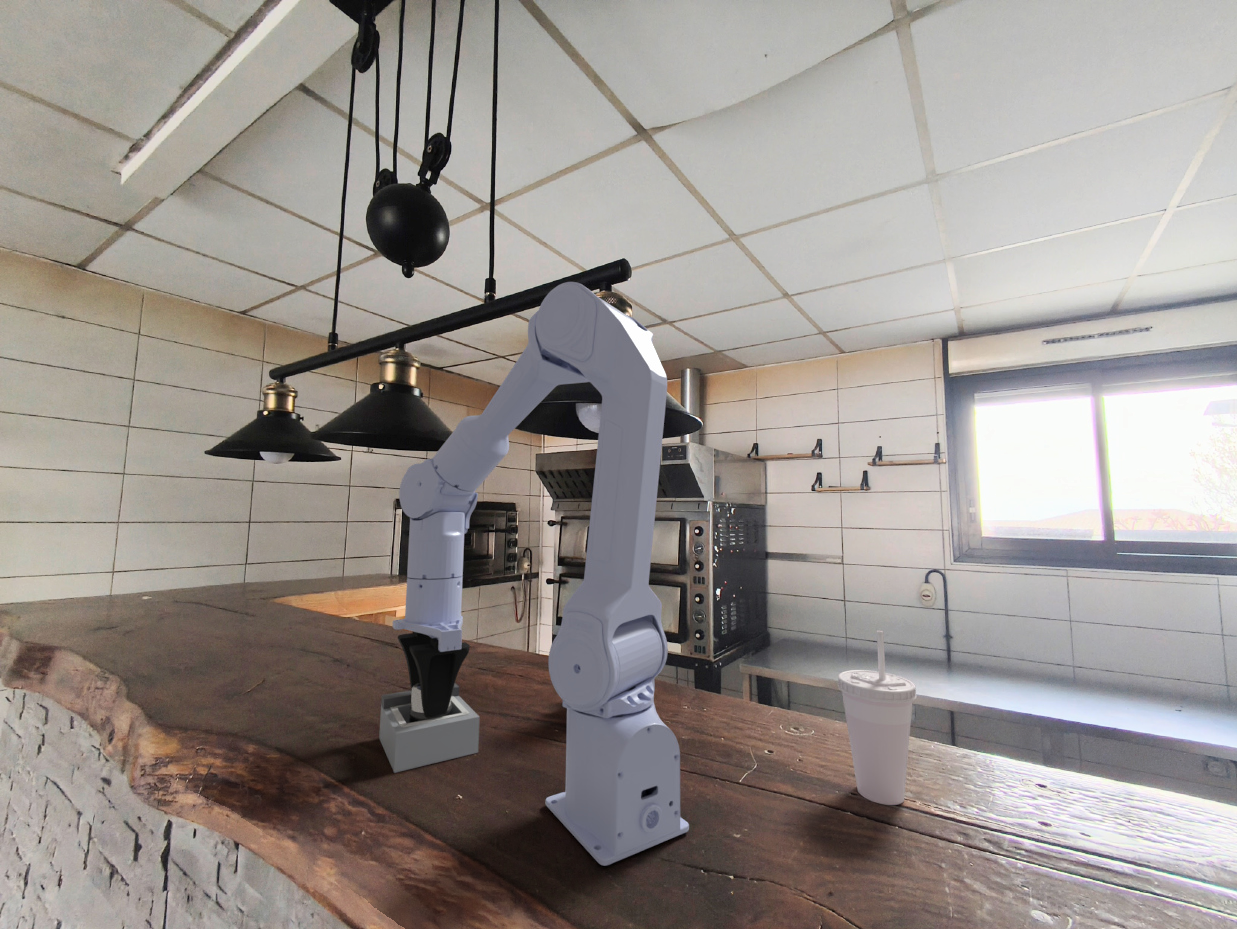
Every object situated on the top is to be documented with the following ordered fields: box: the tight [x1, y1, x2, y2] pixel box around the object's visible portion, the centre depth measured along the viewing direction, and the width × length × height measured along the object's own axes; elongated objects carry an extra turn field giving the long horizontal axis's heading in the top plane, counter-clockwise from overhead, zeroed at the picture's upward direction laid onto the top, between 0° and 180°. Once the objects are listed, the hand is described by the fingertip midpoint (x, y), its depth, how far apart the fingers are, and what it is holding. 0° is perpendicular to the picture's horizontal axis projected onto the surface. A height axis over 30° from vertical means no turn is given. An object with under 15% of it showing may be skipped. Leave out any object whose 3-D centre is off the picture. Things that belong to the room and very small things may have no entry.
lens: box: [409, 683, 452, 723], centre depth 54 cm, size 4×4×6 cm
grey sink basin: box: [378, 682, 480, 774], centre depth 54 cm, size 9×8×5 cm
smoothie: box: [837, 630, 918, 806], centre depth 46 cm, size 6×6×14 cm
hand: (429, 707), depth 54 cm, fingers open, 4 cm apart
